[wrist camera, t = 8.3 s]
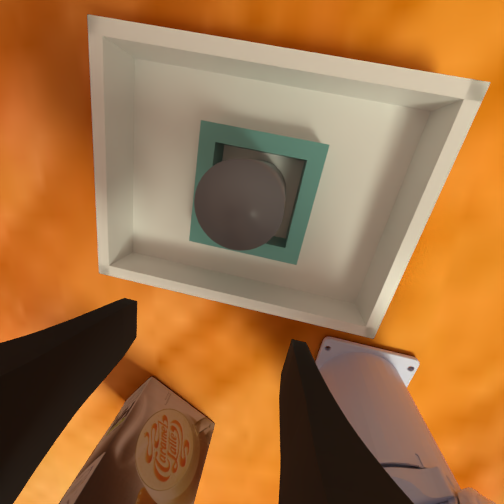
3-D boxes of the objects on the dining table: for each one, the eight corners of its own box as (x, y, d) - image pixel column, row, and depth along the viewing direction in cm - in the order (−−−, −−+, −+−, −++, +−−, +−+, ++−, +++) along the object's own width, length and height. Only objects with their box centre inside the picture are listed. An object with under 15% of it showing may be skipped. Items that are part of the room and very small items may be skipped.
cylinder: (294, 169, 16) (297, 175, 10) (275, 224, 18) (268, 261, 11) (237, 151, 16) (204, 145, 10) (223, 208, 18) (187, 235, 11)
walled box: (359, 310, 20) (373, 338, 17) (128, 256, 21) (99, 273, 18) (445, 100, 15) (490, 82, 11) (128, 45, 16) (87, 14, 13)
